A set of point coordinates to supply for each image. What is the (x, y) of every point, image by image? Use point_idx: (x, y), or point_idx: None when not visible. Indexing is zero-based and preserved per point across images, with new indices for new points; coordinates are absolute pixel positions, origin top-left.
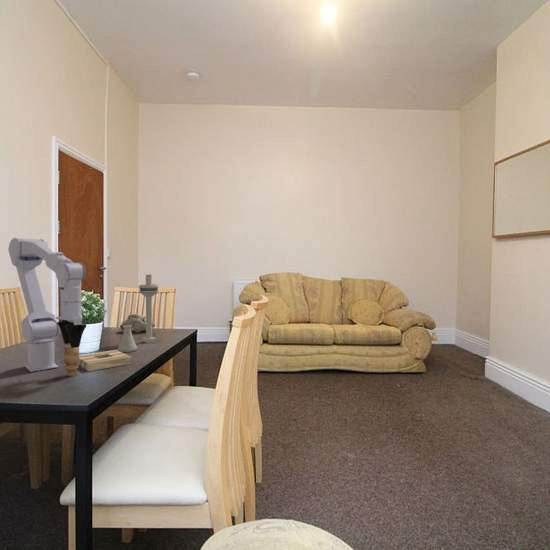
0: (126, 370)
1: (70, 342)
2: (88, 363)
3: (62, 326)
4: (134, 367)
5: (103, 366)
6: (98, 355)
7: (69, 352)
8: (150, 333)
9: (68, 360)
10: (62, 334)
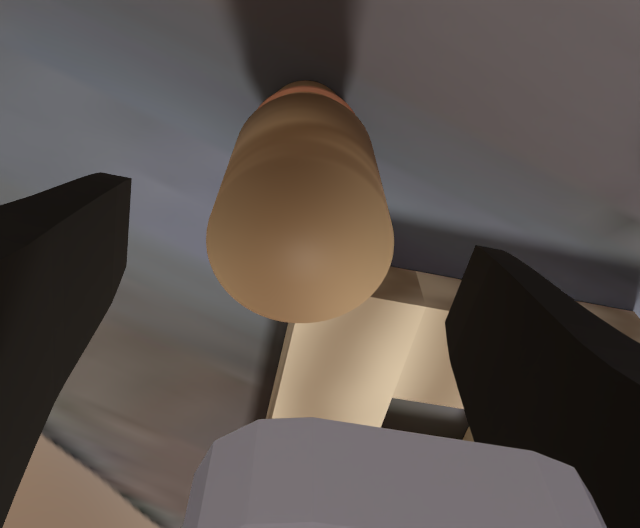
0: (111, 401)
1: (56, 188)
2: None
3: (621, 431)
4: (145, 456)
5: (281, 355)
6: None
7: (235, 161)
8: None
9: (258, 120)
10: (557, 310)
